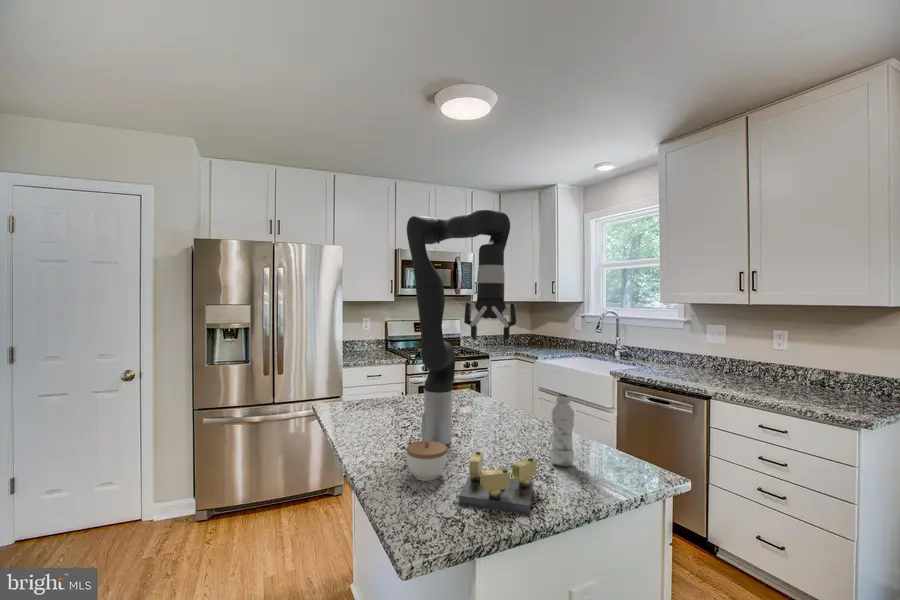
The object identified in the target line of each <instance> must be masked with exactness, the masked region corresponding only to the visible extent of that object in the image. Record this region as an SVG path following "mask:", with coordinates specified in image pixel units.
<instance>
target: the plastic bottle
mask: <svg viewBox="0 0 900 600" xmlns="http://www.w3.org/2000/svg"><path fill="white" fill-rule="evenodd" d="M570 398H571V397H570V395H569V394H563V393H562V394H559V393H558V394H556V399H555V402H556V404H555V405H554V406H553V408H552V409H551V413H550V414H551V424H552V443H551V449H550V460H551V462H552V463H553V464H554V465H556V466H558V467H564V468H565V467H571V465H573V464H574V461H575V455H574V450H573V427H574V421H575V413H574V410H573V408H572V407H571V406H570V403H571V401H570Z"/></svg>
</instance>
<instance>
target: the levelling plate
mask: <svg viewBox="0 0 900 600" xmlns="http://www.w3.org/2000/svg"><path fill="white" fill-rule="evenodd" d="M533 491H534V481H533V480H530V486H528V487H522V486H520V485H519V484H518V481H516V480H513V479H512V477H510V489H501V497H500V498H491V497H489V491H483V490H482V489H481V487H480V480H478V481H475V480H472V479H471V476H468V478H467V480H466V482H465V484H464V485H463V487H462V489H461V491H460V493H459V495H458V505H461V506H467V507H468V506H469V507H475V508H482V509H490V510H495V511H496V510H497V511H503V512H510V513H517V514H523V515H530V511H531V506H532V505H531V504H532V499H533Z"/></svg>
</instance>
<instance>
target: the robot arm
mask: <svg viewBox="0 0 900 600" xmlns="http://www.w3.org/2000/svg"><path fill="white" fill-rule="evenodd" d="M510 231H511V221H510V218H509V216H508V214H506V213H505V212H503V211H498V210H493V209H489V208H481V209H476V210H474V211H472V212H469V213H463V214H458V215H457V214H456V215H454V216H452V217H450V218H448V219H442V218H438V217H437V218H436V217H432V216H425V215H423V216H422V215H412V216H410V218H408V221H407V224H406V235H407V236H406V237H407V242H408V247H409V253H410V256H411V261H412V266H413V267H412V268H413V274H414V275H413V277H414V283H415V284H414V285H415V292H416V293H415V295H416V300H417V301H416V302H417V309H418V318H419V324H420V336H421V337H420V339H421V340H420V343H421V346H420V347H421V349H420V352H421V361H422V363H423V364H424V366H425V367H426V369H427V370H428V375H427V377H426V378H425V379H426V380H425V381H424V394H423V396H424V397H423V398H424V399H423V401H424V404H423V407H424V408H423V412H422V414H421V441H436V442H440V443H442V444H444V445H445V446H447V445H450V444H451V443H452V437H453V436H452V428H453V427H452V426H453V425H452V421H453V419H452V418H453V416H452V415H453V384H454V382H455V381H454V380H455V372H456V370H455V368H456V353H455V352H456V351H455V349H454V347H453V345H452V344H451V343H450V342H448V341H445V340H444V335H443V318H444V313H445V305H446V300H445V299H446V297H445V290H444V282H443V280H442V278H441V275H440V274H439V272H438V270H437V269H436V268H435V266H434V265H433V263H432V262H431V260H430V258H429V256H428V253H427V248H426V245H434V244H437V243H439V242H443V241H446V240H449V239H469V238H470V239H471V238H476V237H478V236H489V240H488V243H485V244H482V245H480V246H479V248H478V249H479V250H478V268H477V269H478V270H477V277H476V285H477V287H476V288H477V290H476V302H475V303H474V302H465V307H464V308H465V309H464V319H463V320H464V322H463V323H464V324H465V325H466V324H467V325H468V326H469V327H470V337H471V338H472V340H473V341H476V340H477V339H478V326H477V325H478V323H479V322H480V320H481V319H493V320H496V319H499V321H500V322H501V323H502V325H503V326H504V327H503V342H507V341H508V340H509V339H510V329H511V327H513V326H516V325H517V306H516V304H515V303H505V274H506V273H505V268H504V267H505V266H504V265H505V250H506V246H507V242H508V239H509V235H510ZM474 309H476V310H477V314H476V315H475V316H474V318H473V319H471V318H472V311H473V310H474ZM506 309H507V311H508V312H510V321H508V319H507V318H506V317H505V315H504V313H503V312H504V311H505V310H506Z"/></svg>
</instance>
